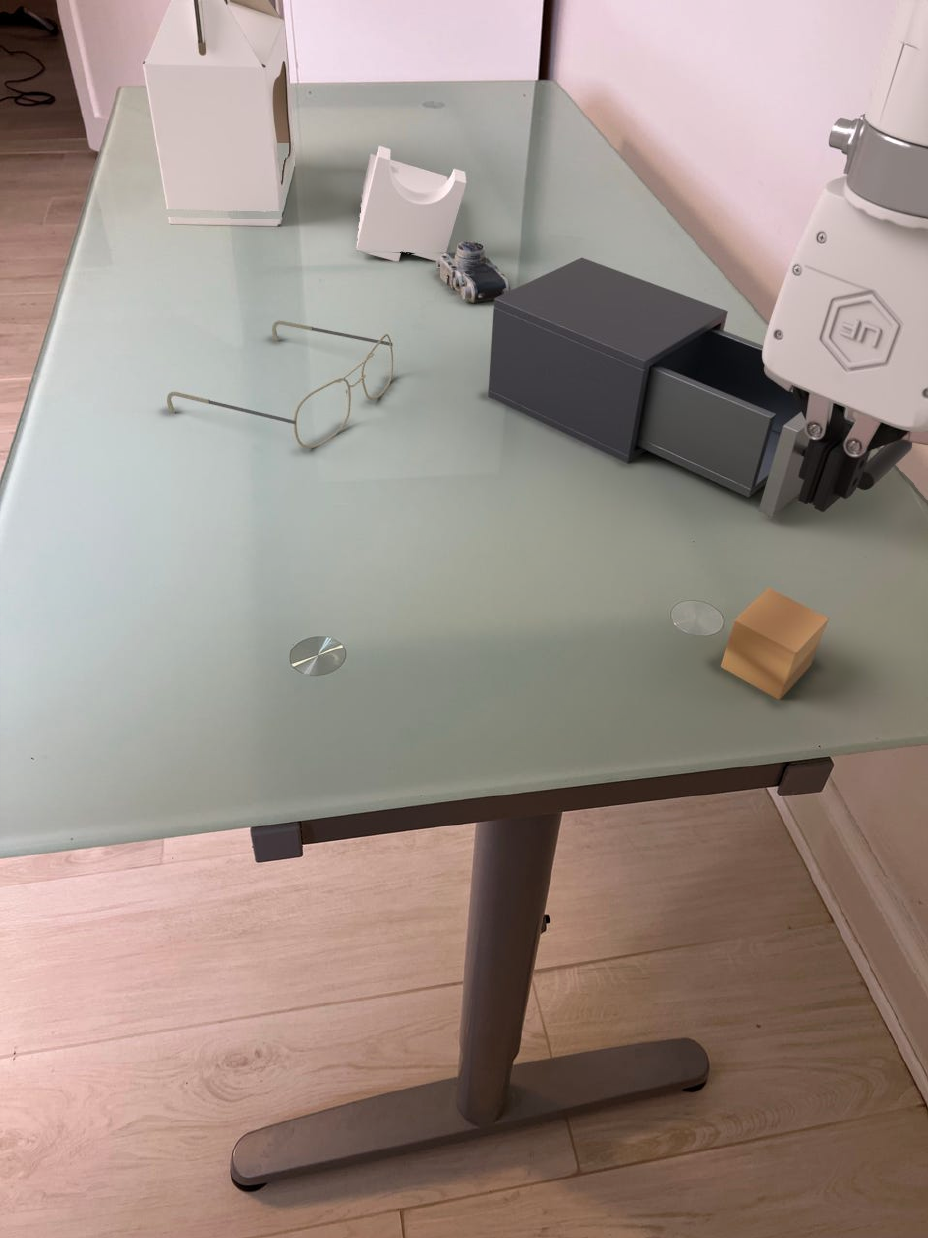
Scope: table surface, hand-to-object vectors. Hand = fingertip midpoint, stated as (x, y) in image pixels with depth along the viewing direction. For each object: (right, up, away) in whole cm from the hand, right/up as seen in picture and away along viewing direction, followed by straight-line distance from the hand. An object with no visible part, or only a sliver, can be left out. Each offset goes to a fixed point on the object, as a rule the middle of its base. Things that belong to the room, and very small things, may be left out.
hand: (822, 496), depth 58 cm
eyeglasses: (-37, +13, +32) cm, 51 cm away
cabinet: (-9, +13, +33) cm, 36 cm away
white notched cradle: (-28, +40, +62) cm, 78 cm away
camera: (-20, +29, +51) cm, 62 cm away
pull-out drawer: (+4, +6, +25) cm, 25 cm away
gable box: (-50, +47, +69) cm, 97 cm away
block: (-1, -10, +8) cm, 13 cm away
